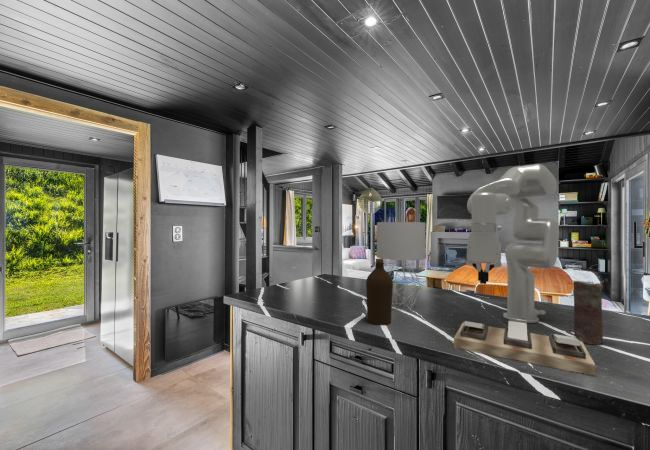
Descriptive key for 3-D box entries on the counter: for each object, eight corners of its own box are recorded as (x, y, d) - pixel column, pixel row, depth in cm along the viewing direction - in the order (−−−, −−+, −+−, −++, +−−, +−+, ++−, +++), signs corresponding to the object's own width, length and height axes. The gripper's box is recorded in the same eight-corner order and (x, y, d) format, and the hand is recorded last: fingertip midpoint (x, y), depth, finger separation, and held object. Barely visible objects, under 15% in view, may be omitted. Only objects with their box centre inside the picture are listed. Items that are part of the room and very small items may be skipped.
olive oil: (373, 327, 116) (374, 260, 116) (361, 318, 126) (361, 257, 126) (397, 324, 120) (398, 260, 120) (383, 316, 130) (384, 257, 130)
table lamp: (392, 298, 162) (393, 222, 162) (433, 306, 146) (433, 222, 147) (366, 306, 146) (367, 222, 146) (409, 316, 130) (410, 222, 131)
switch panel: (582, 351, 95) (582, 336, 95) (595, 376, 79) (595, 358, 79) (462, 330, 113) (463, 318, 113) (453, 347, 97) (454, 333, 97)
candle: (567, 337, 107) (568, 279, 107) (587, 336, 108) (587, 279, 108) (588, 345, 100) (588, 284, 100) (609, 345, 100) (609, 283, 100)
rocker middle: (526, 327, 99) (526, 323, 99) (527, 345, 90) (527, 340, 90) (508, 324, 102) (508, 320, 102) (507, 341, 93) (507, 337, 93)
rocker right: (573, 342, 93) (573, 337, 93) (580, 346, 84) (579, 340, 84) (553, 338, 96) (553, 334, 96) (557, 342, 87) (557, 337, 87)
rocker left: (484, 328, 106) (484, 324, 106) (481, 328, 97) (482, 323, 97) (468, 326, 108) (469, 322, 109) (464, 325, 99) (464, 321, 100)
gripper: (509, 229, 103) (509, 284, 103) (461, 228, 112) (461, 279, 112) (508, 229, 97) (508, 287, 97) (457, 229, 105) (457, 282, 105)
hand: (483, 283), depth 104 cm, fingers closed
